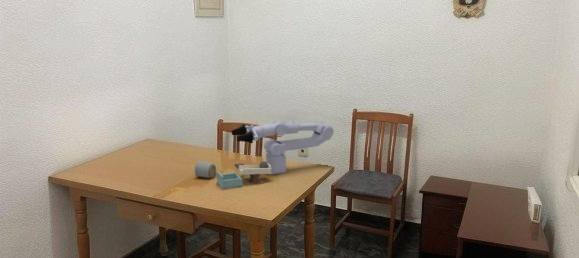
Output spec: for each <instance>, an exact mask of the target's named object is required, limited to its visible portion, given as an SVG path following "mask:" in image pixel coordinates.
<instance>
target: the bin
mask: <svg viewBox="0 0 579 258" xmlns="http://www.w3.org/2000/svg"><path fill="white" fill-rule="evenodd" d="M215 174H216V184H217V186H218V187H219V188H221V190H229V189H234V188H235V189H236V188H242V187H243V184H244V183H243V178H242V177H241V176H240V175H239V174H238V173H236V172H231V173H223V174H222V173H221V172H220V171H219V170H216V173H215Z"/></svg>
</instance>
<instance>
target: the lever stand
mask: <svg viewBox="0 0 579 258" xmlns="http://www.w3.org/2000/svg"><path fill="white" fill-rule="evenodd" d="M245 180H246V181H247V182H248V183H249V184H250V185H259V184H265V180H263V179H262V178H261V174H249V176H248V177H246V178H245Z"/></svg>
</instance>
